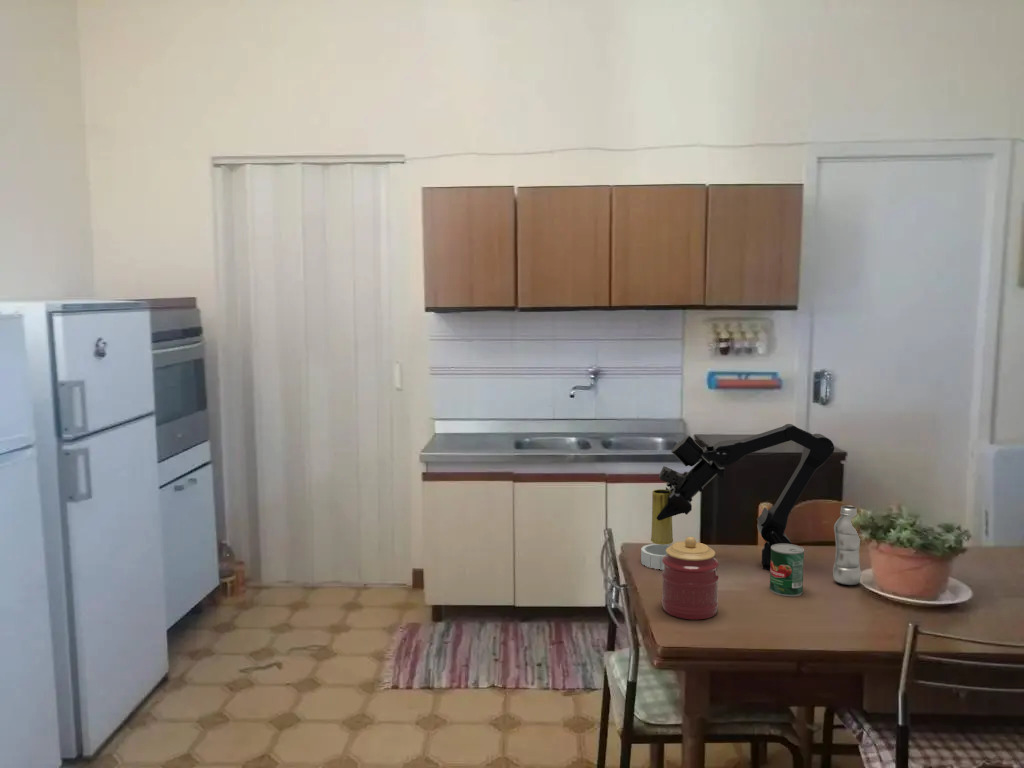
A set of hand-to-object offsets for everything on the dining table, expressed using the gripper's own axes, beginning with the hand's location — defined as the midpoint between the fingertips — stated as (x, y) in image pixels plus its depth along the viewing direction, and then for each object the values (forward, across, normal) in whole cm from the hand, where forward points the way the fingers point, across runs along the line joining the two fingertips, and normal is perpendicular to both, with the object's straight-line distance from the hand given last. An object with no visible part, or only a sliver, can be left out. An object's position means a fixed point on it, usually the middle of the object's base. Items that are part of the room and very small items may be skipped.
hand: (657, 516), depth 212 cm
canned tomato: (-12, +18, +32) cm, 38 cm away
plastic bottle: (-24, +11, +44) cm, 51 cm away
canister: (+5, +33, +14) cm, 36 cm away
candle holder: (+8, +1, +10) cm, 13 cm away
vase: (+4, 0, +6) cm, 7 cm away
